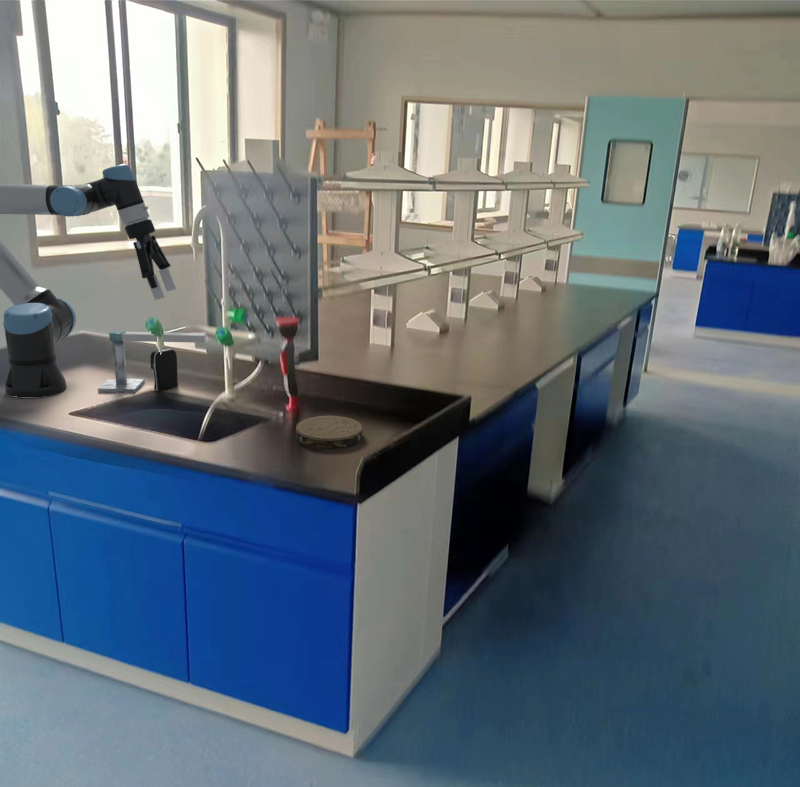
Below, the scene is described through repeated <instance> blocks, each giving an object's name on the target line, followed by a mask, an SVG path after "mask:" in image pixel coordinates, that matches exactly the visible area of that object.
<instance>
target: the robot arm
mask: <svg viewBox="0 0 800 787" xmlns="http://www.w3.org/2000/svg"><path fill="white" fill-rule="evenodd" d="M101 173H102V178H100V179H98V180H94V181H91V182H90V181H89V182H87V183H83V184H73V185H72V184H71V185H67V184H66V185H65V184H64V185H63V184H59V185H58V184H52V185H51V184H22V183H21V184H20V183H19V184H18V183H17V184H15V183H14V184H12V183H0V215H30V216H31V215H34V216H35V215H40V216H41V215H43V216H50V215H51V216H63V217H80V216H85V215H89V214H92V213H95V212H98V211H101V210H103V209H107V208H110V207H113V206H115V207H116V211H117V213H118V215H119V218H120V221H121V222H122V225H124V226H125V227H124V230H125V232H126V234H127V237H128V239H129V240H133V239H136V241H134V242H133V246H134V248H135V253H136V257H137V261H138V265H139V269H140V274H141V278H142V280H143V279H146V282H147V283H148V287H149V289H150V291H151V294H152V296H153V298H154V301H157V300H160V299H164V298H165V294H164V291H163V289H162V286H161V284H160V281H159V279H158V276H157V274H155V270H154V263H155V265H156V266H157V268H158V269H159V270H158V272H159V275H160V277H161V279H162V282H163V284H164V285H163V286H164V288H165V290H166V292H167V293H168V292H171V291H173V290H174V291H175V290H176V289H177V287H176V284H175V281H174V280H173V277H172V274H171V272H170V269H169V268H170V267H171V263H170V262H169V261H168V259H167V258H166V256H165V254H164V252H163V250H162V248H161V246H160V244H159V243H158V241H157V238H156V236H155V235H151V234H152V233H155V232H156V228H155V226H154V223H153V221H152V219H149V217H150V213H149V211H148V210H149V206H148V205H146V204H145V201H144V199H143V196H142V194H141V191H140V187H139V185H138V182H137V179H136V178H135V175H134V173H133V171H132V169H131V167H130V165H128V164H126V163H125V164H124V163H123V164H118V165H114V166H111V167H108V168H105V169H103V170H102V172H101ZM153 262H154V263H153ZM0 290H1V291H2V293H3V294H5V296H6V297H7V298H8V299H9V301H10V302H11V303H12V304H13V306H10V307H8V308H7V309H6V310H5V311H4V313H3V323H2V324H3V328H4V334H5V342H6V348H7V356H8V363H9V364H8V366H9V367H8V370H7V375H6V380H5V384H4V390H5V394H6V395H7V394H8V395H11V396H17V397H40V398H44V397H43V396H46V397H51V396H55V395H58V394H61V393H63V392H64V391H65V390H66V389H67V382H66V378H65V376H64V374H63V372H62V371H61V368H60V367H59V366H60V365H59V364H58V361H57V354H56V346H55V345H56V343H59V342H60V341H62V340H64V339H65V338H66V337H68V336H69V335H70V334H71V333H72V332H73V330H74V328H75V326H76V323H77V322H76V321H77V319H76V318H77V316H76V313H75V311H74V309H73V307H72V306H71V304H69V303H68V302H67V301H66V300H64V299H61V298H57V297H56V296H55V295H54V293H53V292H52V291H51V289H49V288H48V287H42V286H40V285H39V284H38V283H37V281H36V280H35V279H34V278H33V277H32V276H31V274H30V273H29V271H27V269H25V268H24V266H23V265H22V264H21V263H20V261H19V260H18V259H17V258H16V257H15V255H14V254H13V253H12V252H11V250H10V249H9V248H8V247H7V245H6V244H4V242H3V241H2V240H1V239H0ZM8 395H7V396H8Z"/></svg>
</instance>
